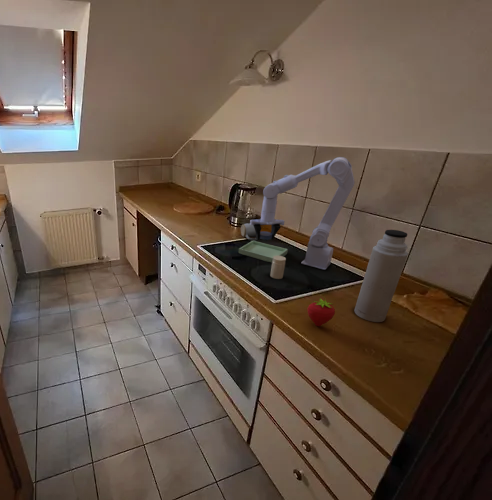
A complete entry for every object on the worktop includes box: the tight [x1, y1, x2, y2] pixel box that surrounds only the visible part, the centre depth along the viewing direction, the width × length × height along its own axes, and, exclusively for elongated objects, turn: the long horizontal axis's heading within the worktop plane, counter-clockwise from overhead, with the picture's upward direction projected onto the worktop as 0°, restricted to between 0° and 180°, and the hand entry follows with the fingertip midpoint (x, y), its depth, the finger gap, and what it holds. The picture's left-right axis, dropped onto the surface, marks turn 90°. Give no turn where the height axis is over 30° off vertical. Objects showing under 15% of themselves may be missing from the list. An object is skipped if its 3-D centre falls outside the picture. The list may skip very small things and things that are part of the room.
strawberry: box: [306, 295, 336, 327], centre depth 88 cm, size 6×8×10 cm
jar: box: [269, 256, 287, 280], centre depth 118 cm, size 5×5×8 cm
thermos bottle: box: [354, 229, 409, 323], centre depth 89 cm, size 8×8×28 cm
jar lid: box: [259, 231, 272, 241], centre depth 137 cm, size 6×6×2 cm
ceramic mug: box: [240, 222, 258, 242], centre depth 158 cm, size 11×8×8 cm
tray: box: [238, 240, 289, 264], centre depth 140 cm, size 17×14×2 cm
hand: (264, 239), depth 138 cm, fingers closed on jar lid, 6 cm apart
